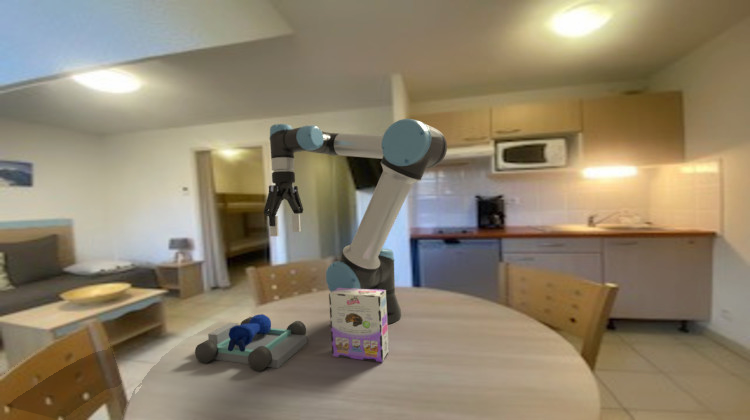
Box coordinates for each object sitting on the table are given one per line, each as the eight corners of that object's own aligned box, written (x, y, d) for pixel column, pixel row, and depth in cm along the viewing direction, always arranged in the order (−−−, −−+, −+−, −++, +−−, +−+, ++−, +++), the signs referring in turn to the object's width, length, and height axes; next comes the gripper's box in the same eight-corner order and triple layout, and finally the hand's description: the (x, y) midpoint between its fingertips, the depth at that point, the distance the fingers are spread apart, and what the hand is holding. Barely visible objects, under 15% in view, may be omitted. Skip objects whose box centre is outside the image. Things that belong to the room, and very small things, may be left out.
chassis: (311, 339, 93) (310, 321, 93) (271, 373, 75) (270, 352, 75) (241, 331, 100) (241, 315, 100) (190, 361, 83) (189, 342, 82)
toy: (249, 354, 80) (276, 327, 94) (247, 329, 79) (275, 306, 94) (223, 353, 81) (254, 326, 95) (221, 329, 80) (253, 306, 95)
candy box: (389, 352, 84) (387, 289, 83) (382, 363, 78) (380, 295, 77) (340, 346, 88) (338, 286, 87) (331, 356, 82) (328, 292, 82)
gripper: (293, 174, 123) (295, 230, 124) (249, 169, 99) (253, 238, 100) (311, 173, 121) (313, 229, 122) (270, 167, 97) (274, 238, 98)
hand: (286, 233), depth 111 cm, fingers open, 13 cm apart
